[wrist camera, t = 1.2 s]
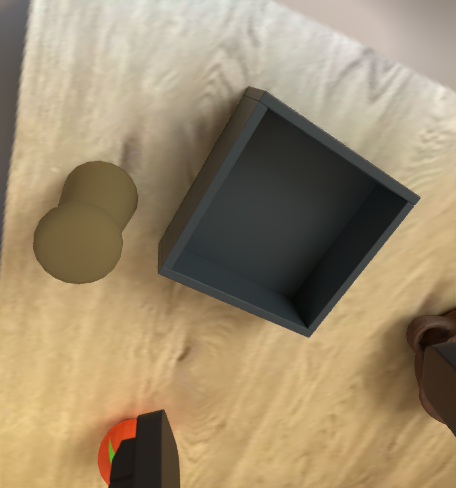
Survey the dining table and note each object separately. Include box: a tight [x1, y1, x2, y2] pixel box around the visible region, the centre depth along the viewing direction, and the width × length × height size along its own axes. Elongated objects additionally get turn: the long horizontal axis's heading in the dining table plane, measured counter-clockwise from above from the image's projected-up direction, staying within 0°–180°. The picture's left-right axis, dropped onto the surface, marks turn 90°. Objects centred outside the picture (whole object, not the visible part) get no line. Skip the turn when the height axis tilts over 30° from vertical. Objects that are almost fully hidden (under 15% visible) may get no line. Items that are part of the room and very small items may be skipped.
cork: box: [33, 161, 138, 284], centre depth 27 cm, size 6×6×11 cm
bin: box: [158, 86, 421, 338], centre depth 32 cm, size 16×16×6 cm
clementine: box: [98, 419, 137, 485], centre depth 40 cm, size 8×7×7 cm
